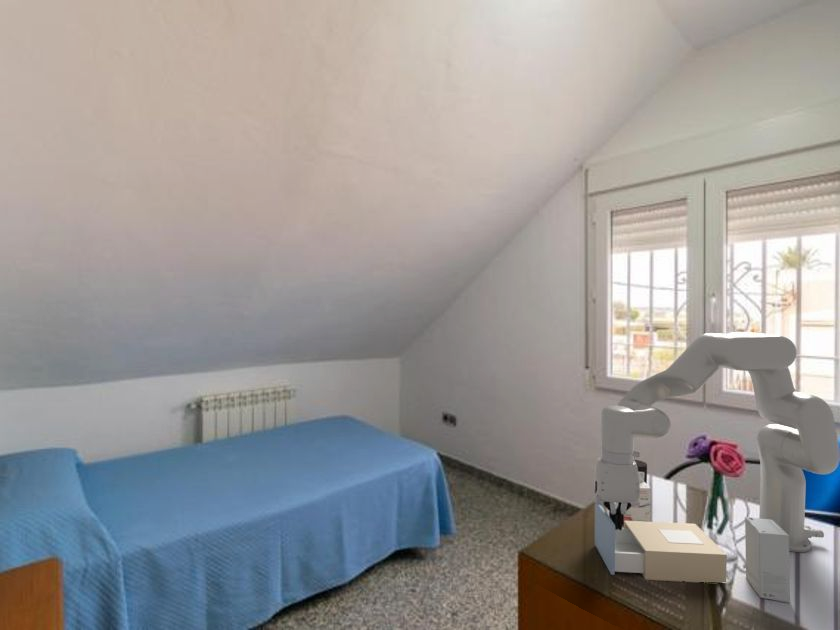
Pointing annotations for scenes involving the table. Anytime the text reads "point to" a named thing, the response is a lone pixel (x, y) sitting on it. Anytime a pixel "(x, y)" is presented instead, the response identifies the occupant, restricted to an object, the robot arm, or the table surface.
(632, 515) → the ink cartridge box
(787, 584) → the skincare box
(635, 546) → the tray
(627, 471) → the robot arm
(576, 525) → the table surface
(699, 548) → the sleeve
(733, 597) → the table surface
